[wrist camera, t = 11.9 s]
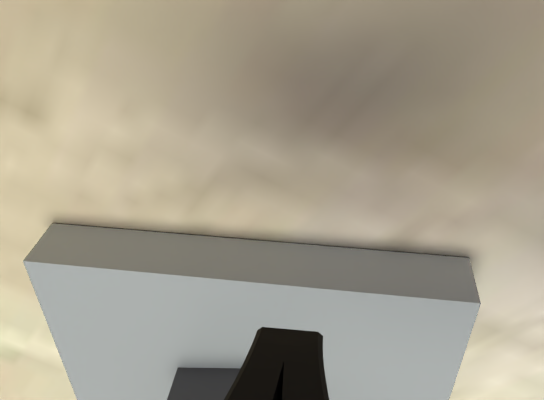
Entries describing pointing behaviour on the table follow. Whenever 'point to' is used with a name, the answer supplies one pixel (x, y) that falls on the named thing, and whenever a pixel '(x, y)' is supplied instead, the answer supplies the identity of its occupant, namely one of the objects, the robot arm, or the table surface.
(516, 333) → the table surface
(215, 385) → the plug
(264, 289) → the socket
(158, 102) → the table surface
